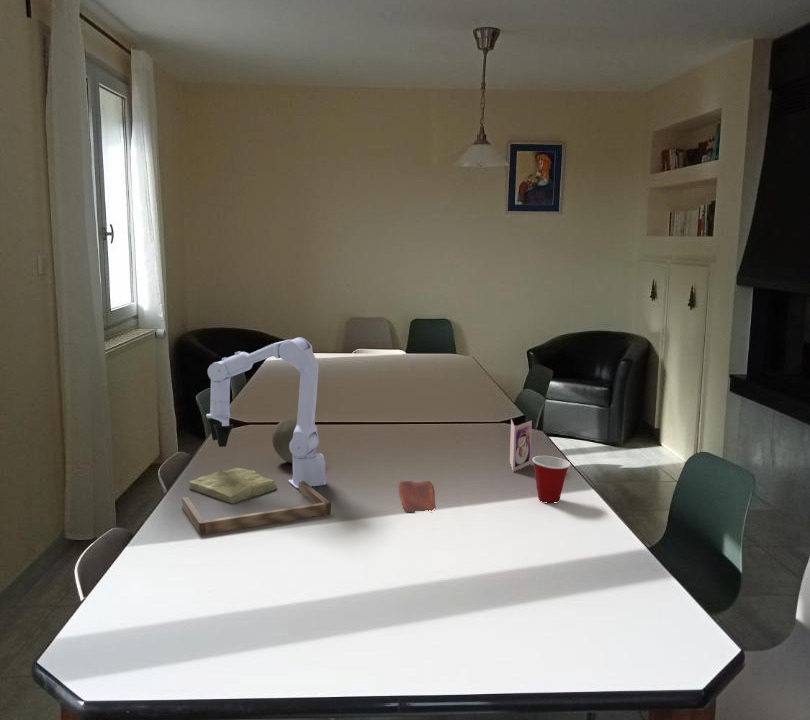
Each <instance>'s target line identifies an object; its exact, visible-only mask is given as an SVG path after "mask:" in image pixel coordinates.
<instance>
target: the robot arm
mask: <svg viewBox="0 0 810 720" xmlns="http://www.w3.org/2000/svg"><path fill="white" fill-rule="evenodd" d="M272 357H273V358H276V359H281V360H283V362H285V363H287V364H289V365H291V366H293V367H294V368H295V369H296V370H297V371H298V372H299V374H300V376H299V377H300V378H299V388H298V389H299V391H298V402H297V403H298V404H297V416H296V417H297V418H296V419H297V425H296V427H295V430H294V432H293V438H292V440H291V442H290V444H289V449H290V452H291V453H292V454H293V464H292V479H288V482H289V484H291V485H292V486H293V487H294V488H295V489H298V490H299V481H304V482H306V483H307V484H308V485H309V486H311V487H312V486H313V487H318V486H325V485H327V482H326V461H325V459H326V458H325V457H324V455H323V454H322V453H317V448H318V447H319V444H320V437H319V434H318V426H317V425H316V424H315V422H316V410H317V409H316V407H317V397H318V385H319V383H318V382H319V370H320V367H319V363H318V361H317V359H316V356H315V353H314V351H313V346H312V344H310V342H309V341H308V340H307V339H306V338H304V337H300V336H299V337H295V338H293V339H286V340H285V339H284V340H282V341H278V342H274V343H271V344H268V345H265V346H264V347H262V348H260V349H257V350H256V351H253V352H250V353H249V352H246V351H240V350H239V351H236V352H234V355H231V356H228V357H226V356H225V357H222V358H221V360H220V361H214V362H212V364H210V365H209V367H208V368H207V375H208V378H209V379H210V402H209V403H210V405H209V406H210V409H209V411H210V412H209V413H206V415H205V417H206V420H207V423H208V426H209V428H210V433H211V434H210V435H211V438H212V440H213V441H217V445H218V447H219V448H221V447H222V448H224V447H227V444H228V441H229V436H230V433H231V432H232V430H233V428H234V424H232V423H230V417H231V413H230V405H231V404H230V401H231V397H230V396H231V378H232V377H234V376H237V375H239V374H243V373H245V372H247V371H249V370H251V369H252V368H253V365H254V364H255V363H257V362H260V361H263V360H266V359H269V358H272ZM313 487H312V488H313Z"/></svg>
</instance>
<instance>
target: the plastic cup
mask: <svg viewBox="0 0 810 720" xmlns="http://www.w3.org/2000/svg"><path fill="white" fill-rule="evenodd" d="M531 460H532V463H533V469H534V474H535V475H534V476H535V482H536V483H535V484H536V489H537V497H538V501H539V500H540V501H539V502H541V501H542V502H541V503H543V502H547V503H554V502H558V501H559V502H560V500H561V497H562V496H561V494H562V491H563V488H564V485H565V484H564V483H565V480H566V475H567V472H568V469H569V468H570V466H571V465H572V464H571V462H570V461H568V460H567V459H564V458H560V457H557V456H551V455H537V456H534V457H532V458H531ZM559 502H558V503H559ZM547 503H546V504H547ZM554 504H555V503H554Z"/></svg>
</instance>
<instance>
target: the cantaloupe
mask: <svg viewBox="0 0 810 720" xmlns="http://www.w3.org/2000/svg"><path fill="white" fill-rule="evenodd" d="M296 425H297V418H285V419H283V420H280V422H278V424H276V425H275V427H274V429H273V432H272V435H271V442H272V446H273V447H272V448H273V449H274V452H276V455H278V456H279V458H281V459H282V460H283V461H286V462H287V463H289V464H292V465H293V454H292V453H291V452H290V449H289V444H290V442H291V440H292V438H293V432H294V430H295V427H296Z"/></svg>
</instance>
